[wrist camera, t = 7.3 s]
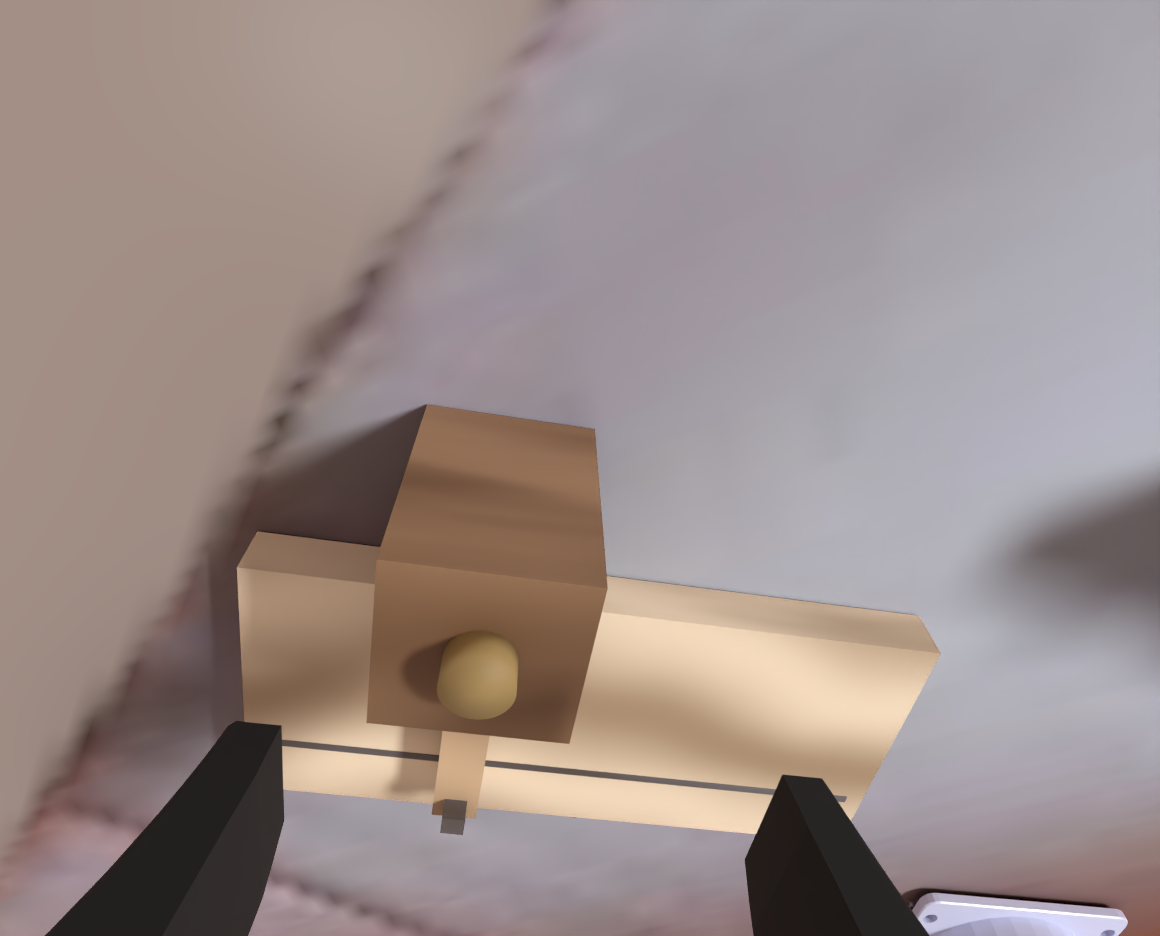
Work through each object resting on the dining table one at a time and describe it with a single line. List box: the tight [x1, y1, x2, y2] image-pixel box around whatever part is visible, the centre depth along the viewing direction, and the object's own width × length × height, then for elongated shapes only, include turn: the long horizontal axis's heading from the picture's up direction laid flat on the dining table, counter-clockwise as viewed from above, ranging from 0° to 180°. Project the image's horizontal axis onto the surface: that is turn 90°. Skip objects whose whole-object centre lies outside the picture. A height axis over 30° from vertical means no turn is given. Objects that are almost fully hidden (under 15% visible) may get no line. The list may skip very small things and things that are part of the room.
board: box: [237, 531, 941, 834], centre depth 23 cm, size 8×18×2 cm, turn 80°
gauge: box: [366, 405, 608, 835], centre depth 19 cm, size 11×4×7 cm, turn 170°
